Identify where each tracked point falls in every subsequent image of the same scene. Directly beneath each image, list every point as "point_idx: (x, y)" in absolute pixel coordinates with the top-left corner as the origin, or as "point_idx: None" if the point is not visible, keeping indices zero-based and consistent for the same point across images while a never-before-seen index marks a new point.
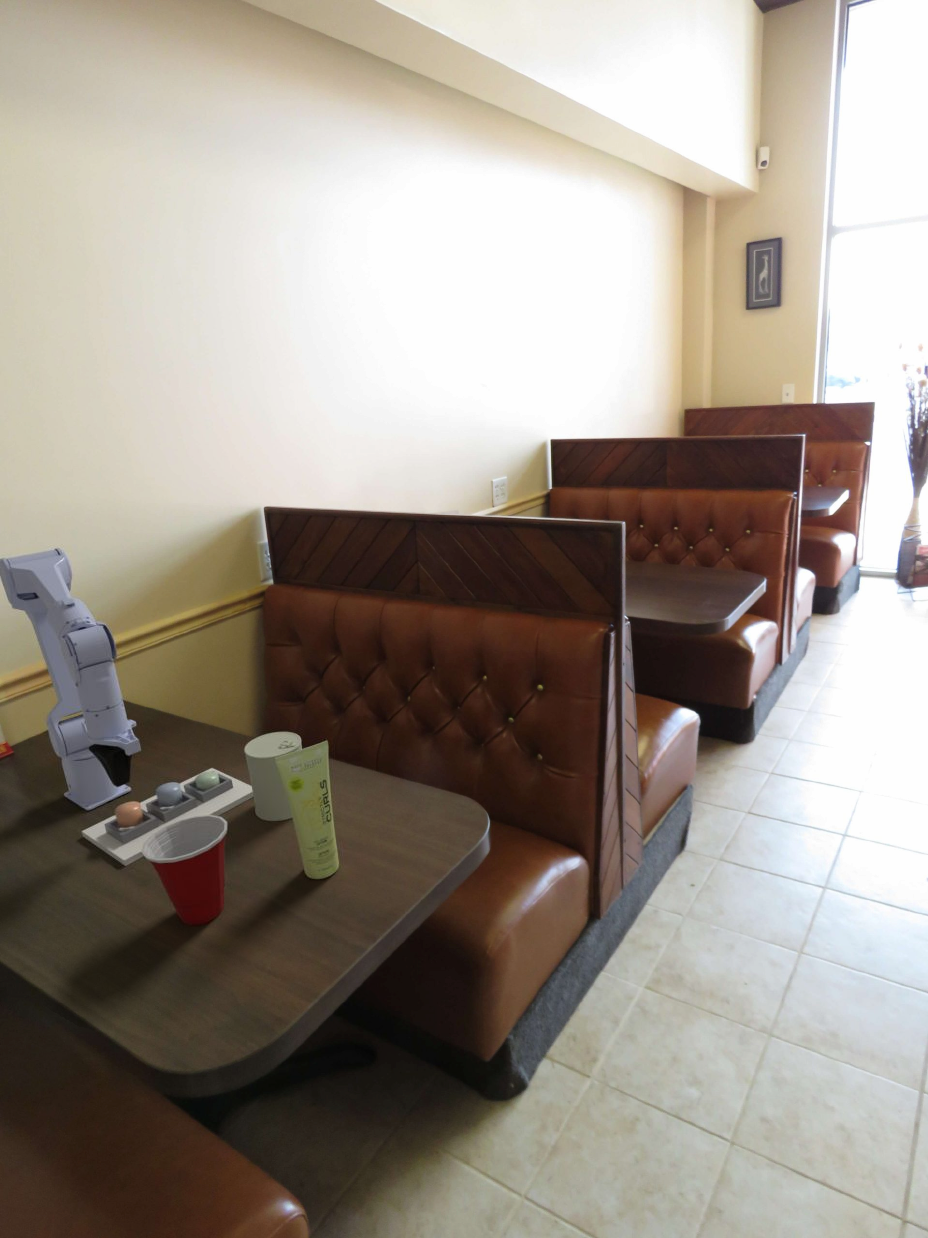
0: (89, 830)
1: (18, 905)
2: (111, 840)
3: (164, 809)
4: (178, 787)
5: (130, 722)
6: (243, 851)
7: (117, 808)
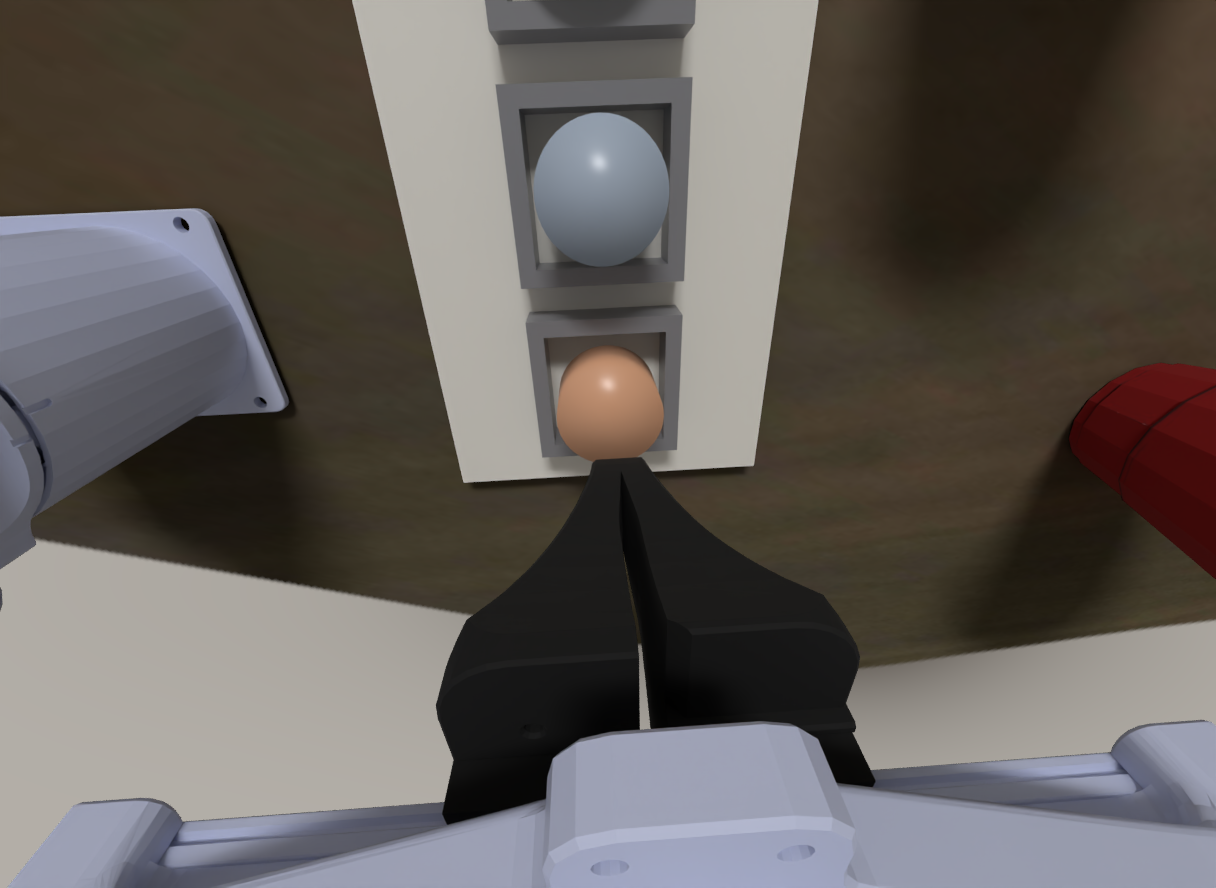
0: (479, 467)
1: None
2: None
3: None
4: (652, 145)
5: (739, 872)
6: (1103, 155)
7: (576, 444)
